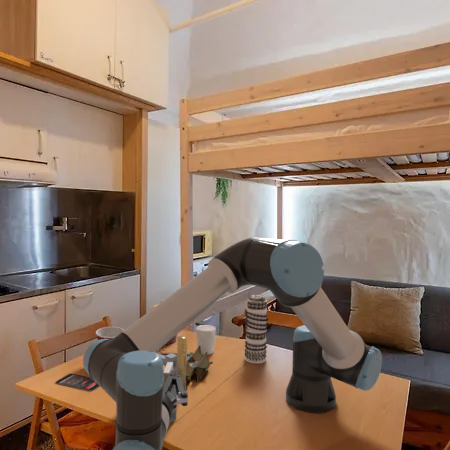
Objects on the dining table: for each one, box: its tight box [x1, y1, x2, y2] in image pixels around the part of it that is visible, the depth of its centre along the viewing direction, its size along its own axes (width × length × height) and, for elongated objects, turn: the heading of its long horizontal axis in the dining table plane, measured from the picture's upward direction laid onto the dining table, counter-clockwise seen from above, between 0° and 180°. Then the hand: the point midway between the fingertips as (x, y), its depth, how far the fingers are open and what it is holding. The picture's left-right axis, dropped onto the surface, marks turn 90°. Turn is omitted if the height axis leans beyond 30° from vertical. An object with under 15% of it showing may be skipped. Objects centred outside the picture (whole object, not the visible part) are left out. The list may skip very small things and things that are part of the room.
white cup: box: [196, 324, 217, 356], centre depth 152 cm, size 8×8×10 cm
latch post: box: [176, 335, 188, 392], centre depth 117 cm, size 3×3×18 cm
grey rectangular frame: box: [157, 352, 178, 424], centre depth 105 cm, size 12×2×18 cm, turn 54°
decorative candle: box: [244, 294, 269, 364], centre depth 146 cm, size 9×9×25 cm
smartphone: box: [54, 373, 100, 392], centre depth 123 cm, size 7×1×15 cm
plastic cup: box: [95, 326, 125, 340], centre depth 140 cm, size 11×11×12 cm
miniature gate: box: [155, 346, 213, 383], centre depth 135 cm, size 27×6×30 cm
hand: (170, 367), depth 96 cm, fingers closed
